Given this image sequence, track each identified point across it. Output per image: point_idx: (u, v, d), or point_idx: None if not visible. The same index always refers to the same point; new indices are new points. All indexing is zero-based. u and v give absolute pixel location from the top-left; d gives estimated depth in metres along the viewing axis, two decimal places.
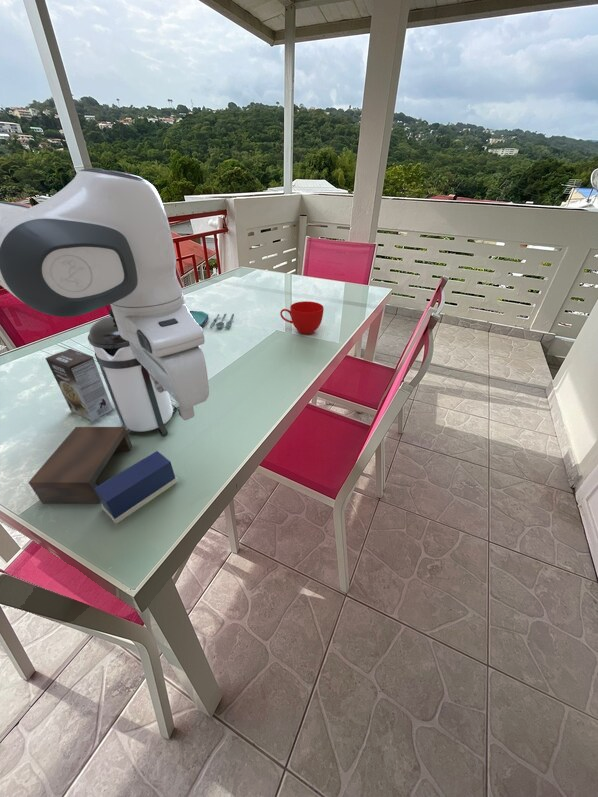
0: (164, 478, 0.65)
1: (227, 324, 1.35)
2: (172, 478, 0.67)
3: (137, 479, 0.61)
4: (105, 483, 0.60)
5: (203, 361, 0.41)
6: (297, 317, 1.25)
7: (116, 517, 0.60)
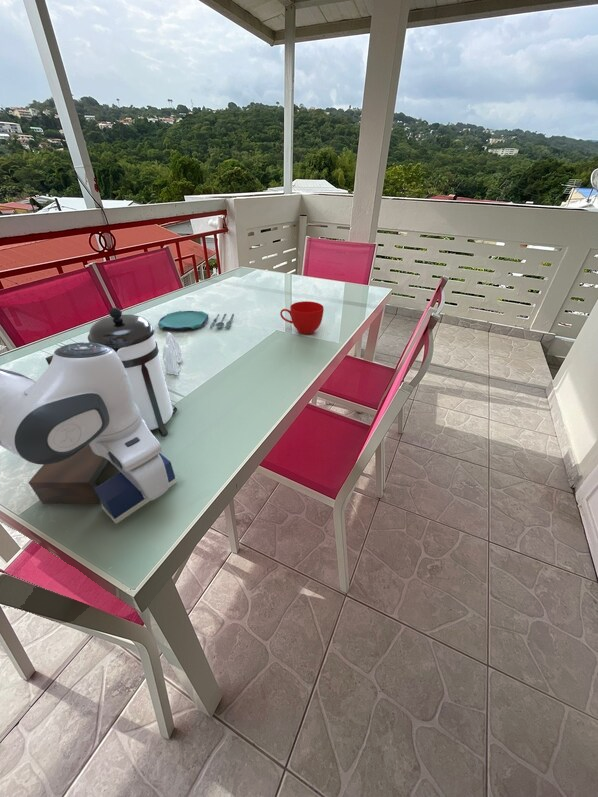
0: None
1: (227, 324, 1.35)
2: (172, 478, 0.67)
3: None
4: (105, 483, 0.60)
5: (162, 465, 0.54)
6: (297, 317, 1.25)
7: (116, 517, 0.60)
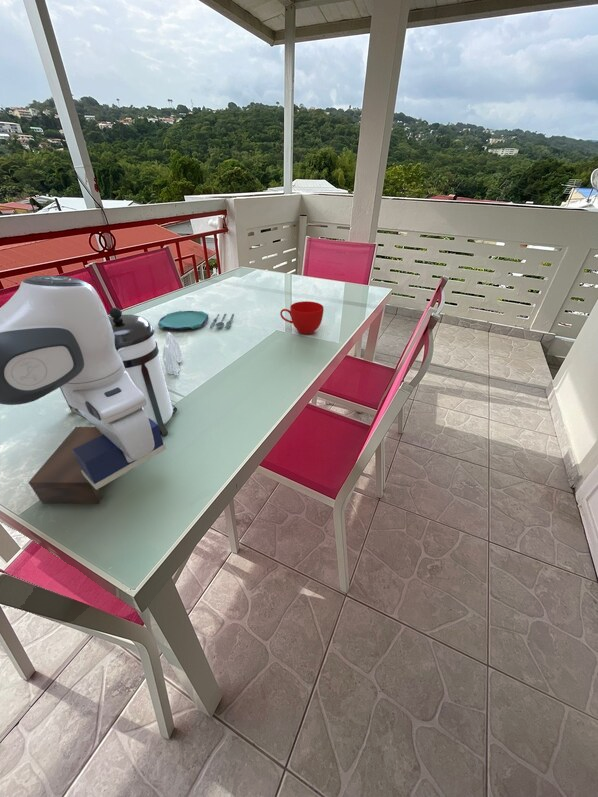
0: None
1: (227, 324, 1.35)
2: (160, 444, 0.61)
3: None
4: (85, 445, 0.55)
5: (147, 420, 0.49)
6: (297, 317, 1.25)
7: (96, 482, 0.54)
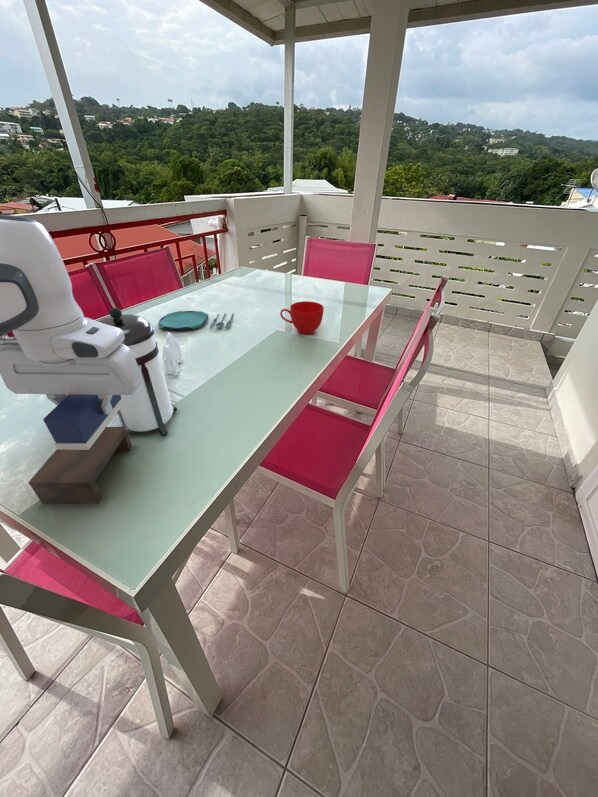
0: (114, 397, 0.60)
1: (227, 324, 1.35)
2: (119, 398, 0.62)
3: (92, 396, 0.54)
4: (53, 412, 0.51)
5: (131, 352, 0.52)
6: (297, 317, 1.25)
7: (87, 441, 0.52)
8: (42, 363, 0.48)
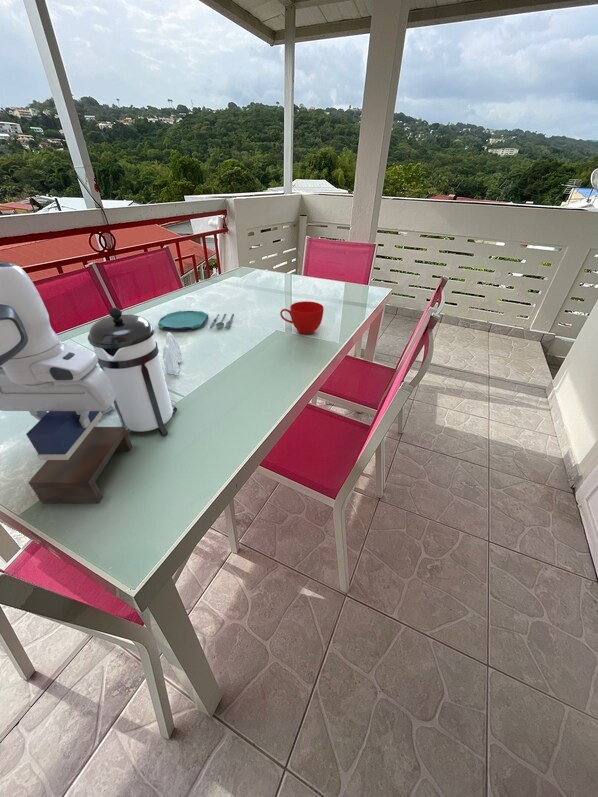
0: (92, 411, 0.66)
1: (227, 324, 1.35)
2: (97, 411, 0.68)
3: (71, 412, 0.61)
4: (36, 427, 0.57)
5: (105, 373, 0.59)
6: (297, 317, 1.25)
7: (66, 452, 0.59)
8: (24, 385, 0.54)
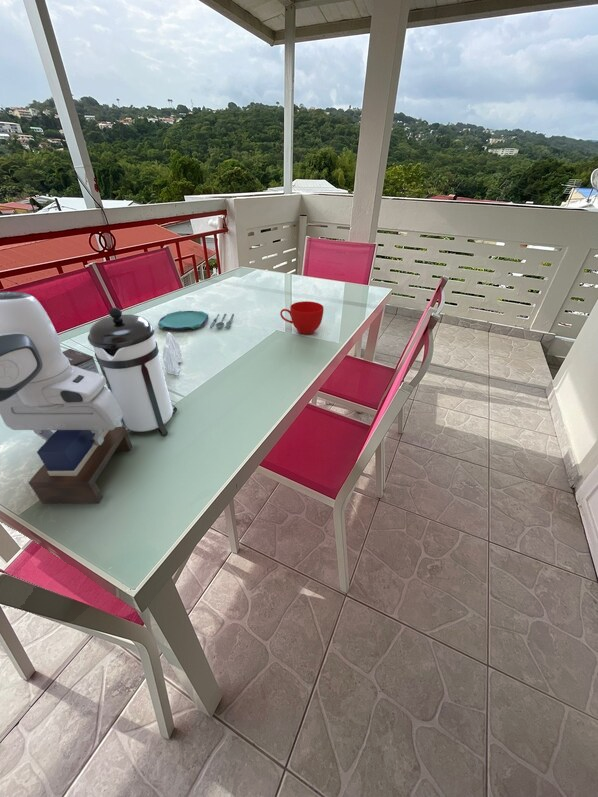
0: None
1: (227, 324, 1.35)
2: None
3: None
4: (46, 444, 0.60)
5: (112, 393, 0.61)
6: (297, 317, 1.25)
7: (75, 468, 0.61)
8: (36, 406, 0.57)
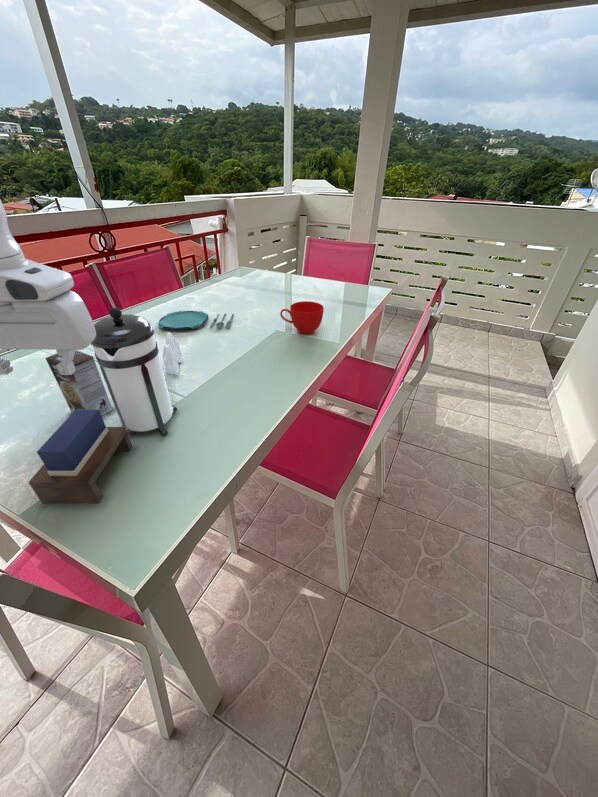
0: (99, 427, 0.69)
1: (227, 324, 1.35)
2: (104, 427, 0.71)
3: (79, 429, 0.63)
4: (46, 444, 0.60)
5: (82, 301, 0.46)
6: (297, 317, 1.25)
7: (75, 468, 0.61)
8: None
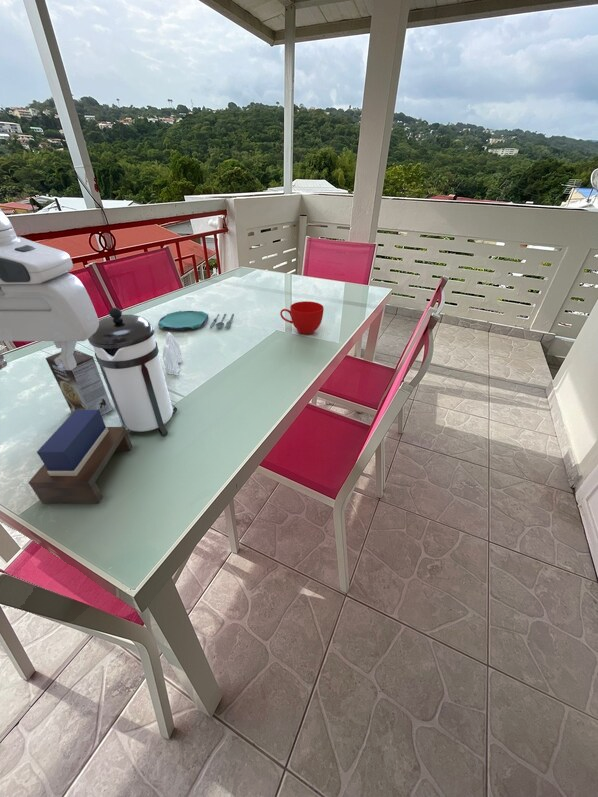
0: (99, 427, 0.69)
1: (227, 324, 1.35)
2: (104, 427, 0.71)
3: (79, 429, 0.63)
4: (46, 444, 0.60)
5: (82, 285, 0.40)
6: (297, 317, 1.25)
7: (75, 468, 0.61)
8: None
